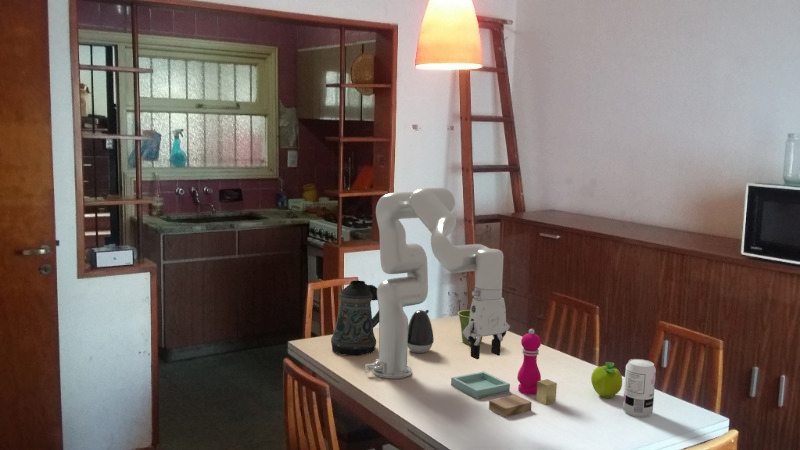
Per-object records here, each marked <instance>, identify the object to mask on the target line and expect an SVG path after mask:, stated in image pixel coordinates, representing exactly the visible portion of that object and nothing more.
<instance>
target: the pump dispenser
mask: <svg viewBox="0 0 800 450" xmlns="http://www.w3.org/2000/svg"><path fill="white" fill-rule="evenodd" d="M429 312H430V311H429V310H428V309H426V310H423V309H419V310H416V311H415V312H413V314H412V316H411V318H410V320H409V321H408V350H409V351H411V352H412V353H415V354H425V353H427V352H429V351H430V350H431V349H432V346H433V344H434V339H435V338H434V331H433V326H432V323H431V318H430V317H429V314H428V313H429Z"/></svg>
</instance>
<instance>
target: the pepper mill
mask: <svg viewBox="0 0 800 450" xmlns="http://www.w3.org/2000/svg"><path fill="white" fill-rule="evenodd" d="M520 342H521V343H520V344H521V346H522V347H523V348H522V352H521V353H522V354H523V362H522V364H521V367H520V368H519V370H518V373H517V381H518V382H519V384H518V389H517V390H518V392H519V394H523V395H528V396H530V395H531V396H533V395H534V396H535V395H537V382H538V381H541V380H542V375H541V371H540V370H539V367H538V363H537V360H538V355H539V351H540V350H539V348H540V347H541V345H542V341H541V337H540V336H539V335H538V334H536V333H535V330H534V328H530V329H528V333H525V334H524V335H523V336H522V338H521V340H520Z"/></svg>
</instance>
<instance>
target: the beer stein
mask: <svg viewBox="0 0 800 450" xmlns="http://www.w3.org/2000/svg"><path fill="white" fill-rule="evenodd" d="M377 288H378V287H377V286H375V285H373V284H367V283H366V281H364V280H351V282H350V283H349V284H348V285H347V286H345V287H344V288H343V289H341V291H339V293H338V297H339V300H340V301H339V302H340V303H339V307H338V308H339V309H338V311H337V312H338V313H337V320H336V323H335V327H334V331H333V334H332V336H331V339H330V342H331V348H332V351H333V353H336V354H337V355H341V356H342V355H343V356H347V357H348V356H351V357H352V356H353V357H354V356H355V357H357V356H358V357H359V356H360V357H361V356H366V355H369V354H372V353H374V352H375V350H376V345H377V339H376V336H375V333H374V328H375V327H376V326H377V325H378V324H379V309H378V310H377V311H376V313H375V315H374V316H373V315H372V314H373V313H372V306H371V305H372V303H371V302H373V301H378V299H377ZM373 351H374V352H373Z"/></svg>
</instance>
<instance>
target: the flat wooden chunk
mask: <svg viewBox="0 0 800 450" xmlns="http://www.w3.org/2000/svg"><path fill="white" fill-rule="evenodd" d="M532 404H533V403H532V401H530V400H528V399H526V398H523V397H521V396H519V395H517V394H515V393H514V394H511V395H506V396H503V397H499V398H495V399H491V400H489V401H488V410H490V411H491V412H493V413H495V414H497V415H499V416H501V417H503V418H504V419H505V418H508V417H509V418H510V417H512V416H516V415H521V414H524V413H528V412H531V411H532Z"/></svg>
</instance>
